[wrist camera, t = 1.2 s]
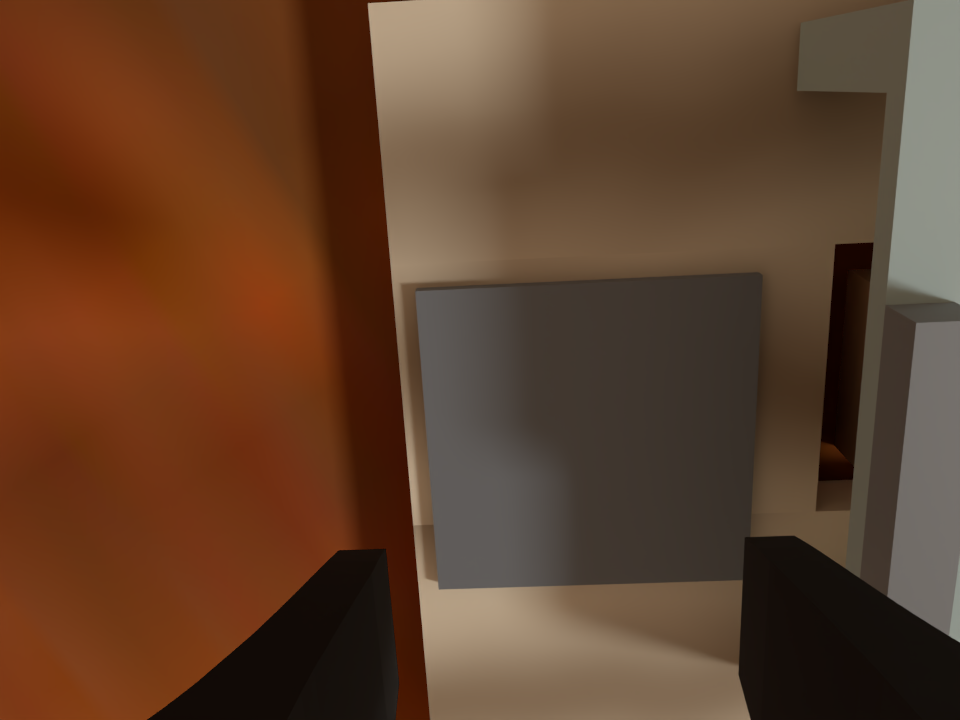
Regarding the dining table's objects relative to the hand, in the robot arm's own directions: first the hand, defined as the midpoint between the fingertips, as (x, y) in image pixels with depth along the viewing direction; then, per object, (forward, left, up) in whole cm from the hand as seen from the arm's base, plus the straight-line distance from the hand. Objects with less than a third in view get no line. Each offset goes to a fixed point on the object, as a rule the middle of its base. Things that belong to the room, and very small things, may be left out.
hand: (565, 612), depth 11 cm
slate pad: (-1, -1, -8) cm, 8 cm away
